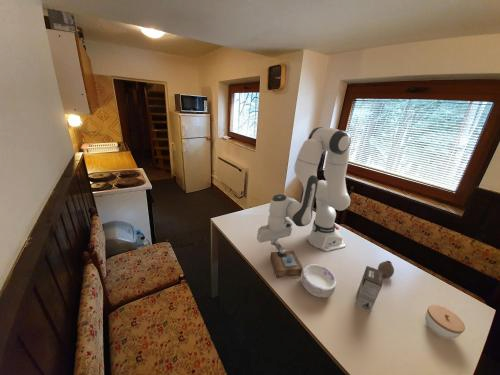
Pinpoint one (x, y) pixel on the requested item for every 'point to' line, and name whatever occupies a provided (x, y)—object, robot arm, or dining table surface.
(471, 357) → the dining table surface
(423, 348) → the dining table surface
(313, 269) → the white round bowl
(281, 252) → the lever handle
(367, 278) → the coffee box
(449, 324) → the lidded jar
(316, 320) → the dining table surface
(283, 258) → the cover
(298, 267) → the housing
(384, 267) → the vase
